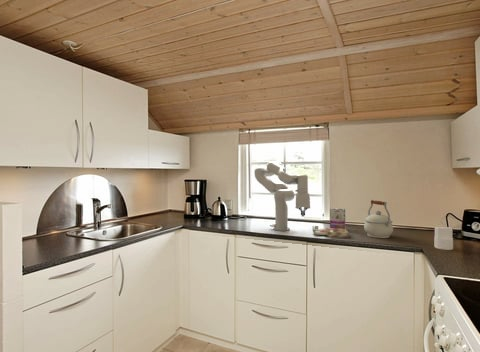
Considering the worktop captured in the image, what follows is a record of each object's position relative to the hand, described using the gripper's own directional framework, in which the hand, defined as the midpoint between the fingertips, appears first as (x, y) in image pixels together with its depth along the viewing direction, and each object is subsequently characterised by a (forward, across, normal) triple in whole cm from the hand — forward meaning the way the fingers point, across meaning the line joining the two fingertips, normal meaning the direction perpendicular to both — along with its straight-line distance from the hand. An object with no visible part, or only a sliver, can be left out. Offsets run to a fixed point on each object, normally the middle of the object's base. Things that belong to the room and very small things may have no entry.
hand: (303, 216), depth 204 cm
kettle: (+14, +51, +6) cm, 53 cm away
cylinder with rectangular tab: (+15, +81, -22) cm, 85 cm away
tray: (+12, +14, 0) cm, 18 cm away
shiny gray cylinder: (+13, +9, +14) cm, 21 cm away
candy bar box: (+13, +27, +26) cm, 40 cm away
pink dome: (+11, +15, +1) cm, 19 cm away
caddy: (+13, +23, 0) cm, 27 cm away
